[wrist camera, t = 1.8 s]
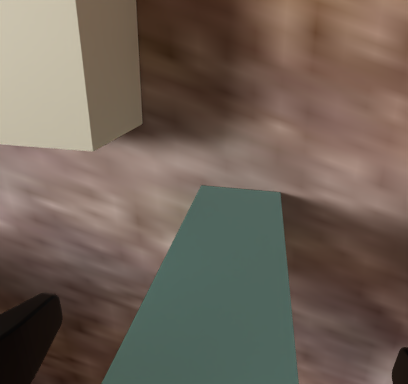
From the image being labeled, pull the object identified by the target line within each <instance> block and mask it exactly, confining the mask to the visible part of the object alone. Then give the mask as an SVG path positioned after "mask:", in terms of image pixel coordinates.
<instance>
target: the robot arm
mask: <svg viewBox="0 0 408 384" xmlns="http://www.w3.org/2000/svg"><path fill="white" fill-rule="evenodd" d="M61 323H62V311H61V306H60V301H59V297H58V296H57V295H56V294H51V293H41V294H39V295H37V296H35V297H33V298H31V299H29V300H27V301H25V302H23V303H22V304H20V305H18V306H16V307H14V308H12V309H10V310H8V311H6V312H4V313H2V314H0V384H31V382H32V380H33V379H34V377H35V375H36V373H37V371H38V369H39V367H40V365H41V363H42V361H43V360H44V358H45V356H46V354H47V352H48V350H49V348H50V346H51V344H52V342H53V340H54V338H55V336H56V334H57V332H58V330H59V328H60V326H61ZM392 381H393V384H408V348H407V347H403V348H401V349H400V351H399V353H398V356H397V359H396V362H395V364H394V367H393V370H392Z"/></svg>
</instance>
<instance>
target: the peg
mask: <svg viewBox="0 0 408 384" xmlns="http://www.w3.org/2000/svg"><path fill="white" fill-rule="evenodd" d="M102 384H299V383H298V372H297V362H296V351H295V341H294V330H293V320H292V309H291V299H290V288H289V278H288V267H287V257H286V246H285V236H284V225H283V215H282V204H281V194H280V192H270V191H259V190H248V189H237V188H226V187H214V186H203V185H201V187H200V189H199V191H198V193H197V195H196V197H195V199H194V201H193V203H192V205H191V207H190V209H189V211H188V213H187V215H186V217H185V219H184V221H183V223H182V225H181V227H180V229H179V231H178V233H177V235H176V237H175V239H174V241H173V243H172V245H171V247H170V249H169V251H168V253H167V255H166V256H165V258H164V260H163V262H162V264H161V266H160V268H159V270H158V272H157V274H156V276H155V278H154V280H153V282H152V284H151V286H150V288H149V290H148V292H147V294H146V296H145V298H144V300H143V302H142V304H141V306H140V308H139V310H138V312H137V314H136V316H135V318H134V320H133V322H132V324H131V326H130V328H129V330H128V332H127V334H126V336H125V338H124V340H123V342H122V344H121V346H120V348H119V350H118V352H117V354H116V356H115V358H114V360H113V362H112V364H111V366H110V368H109V370H108V372H107V374H106V376H105V378H104V380H103V382H102Z"/></svg>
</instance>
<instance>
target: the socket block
mask: <svg viewBox="0 0 408 384" xmlns="http://www.w3.org/2000/svg"><path fill="white" fill-rule="evenodd" d="M142 124H143V122H142V103H141V84H140V65H139V46H138V27H137V8H136V0H0V144H2V145H15V146H28V147H41V148H54V149H67V150H80V151H95V150H97V149H98V148H100V147H102V146H104V145H106V144H107V143H109V142H111V141H113V140H115V139H116V138H118V137H120V136H122V135H124V134H125V133H127V132H129V131H131V130H133V129H134V128H136V127H138V126H140V125H142Z"/></svg>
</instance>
